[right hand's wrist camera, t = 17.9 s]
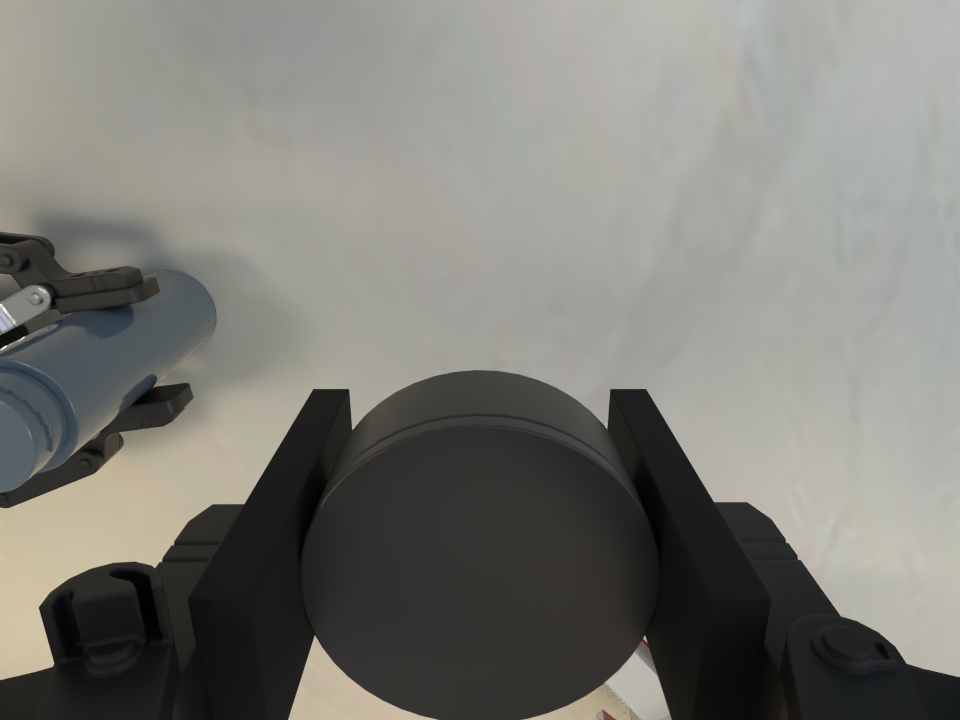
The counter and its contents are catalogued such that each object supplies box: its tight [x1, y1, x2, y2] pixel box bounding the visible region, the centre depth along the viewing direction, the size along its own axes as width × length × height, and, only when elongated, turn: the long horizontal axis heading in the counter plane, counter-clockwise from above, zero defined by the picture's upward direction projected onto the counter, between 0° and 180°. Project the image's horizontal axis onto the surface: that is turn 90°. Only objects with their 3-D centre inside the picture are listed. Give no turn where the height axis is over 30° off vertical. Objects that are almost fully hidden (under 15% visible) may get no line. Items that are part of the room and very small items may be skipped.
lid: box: [300, 370, 661, 720], centre depth 11 cm, size 6×6×2 cm
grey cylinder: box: [0, 270, 216, 493], centre depth 30 cm, size 5×5×16 cm
